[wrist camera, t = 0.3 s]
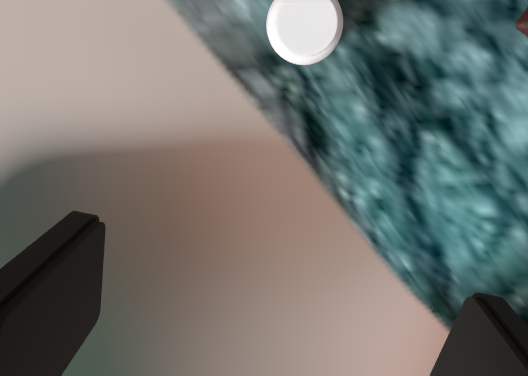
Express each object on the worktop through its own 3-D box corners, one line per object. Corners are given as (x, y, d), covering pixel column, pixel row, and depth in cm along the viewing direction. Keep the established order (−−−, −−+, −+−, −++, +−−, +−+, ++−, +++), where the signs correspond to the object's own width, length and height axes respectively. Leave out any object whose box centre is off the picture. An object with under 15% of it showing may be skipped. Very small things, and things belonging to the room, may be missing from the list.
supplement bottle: (267, 57, 35) (261, 65, 26) (271, -10, 33) (266, -27, 24) (328, 61, 35) (343, 71, 26) (336, -7, 33) (355, -22, 24)
